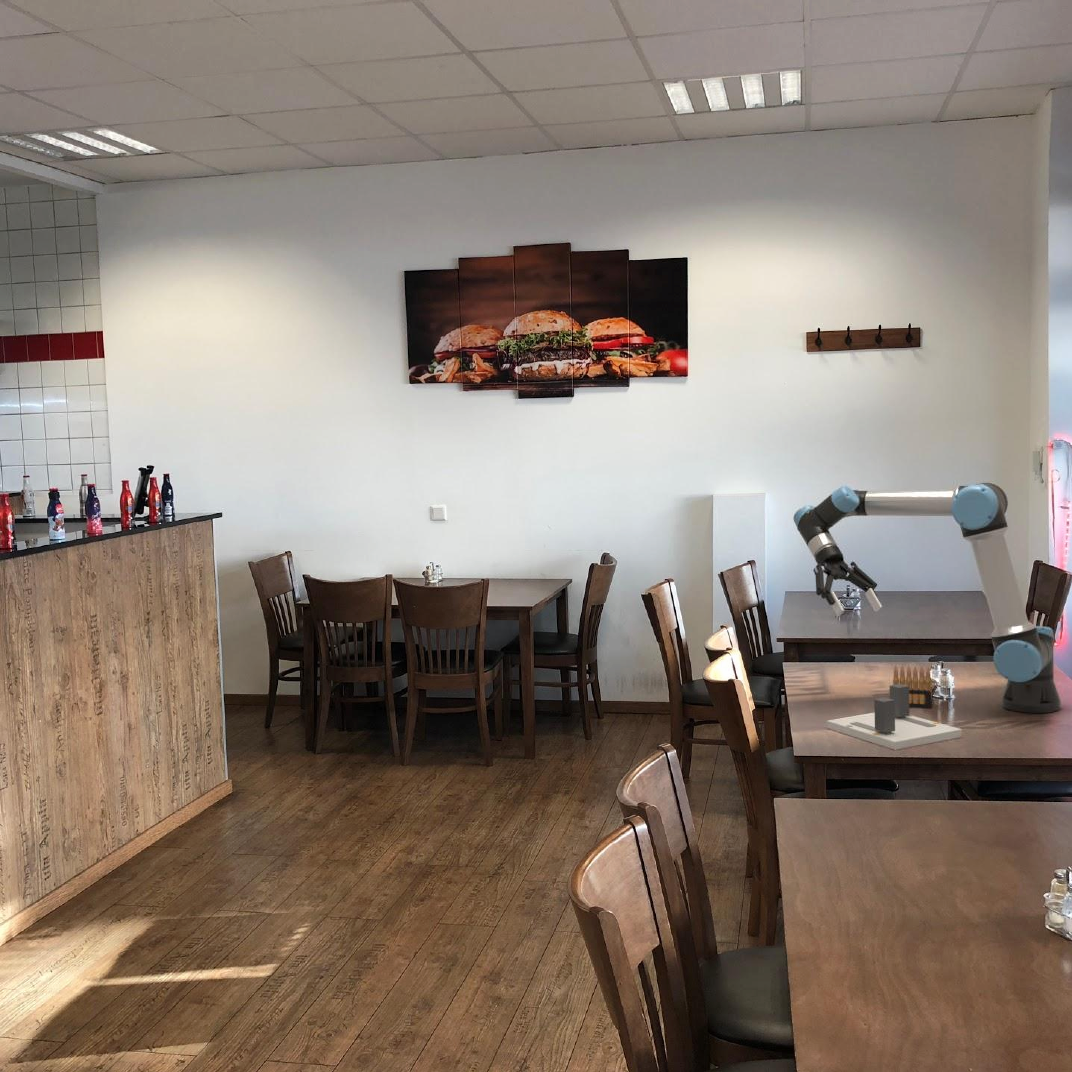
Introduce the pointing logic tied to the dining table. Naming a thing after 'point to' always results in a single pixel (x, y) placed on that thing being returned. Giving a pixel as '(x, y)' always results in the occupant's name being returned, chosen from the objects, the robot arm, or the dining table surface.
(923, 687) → the ammunition clip
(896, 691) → the block
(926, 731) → the switch panel
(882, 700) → the block
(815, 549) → the robot arm
